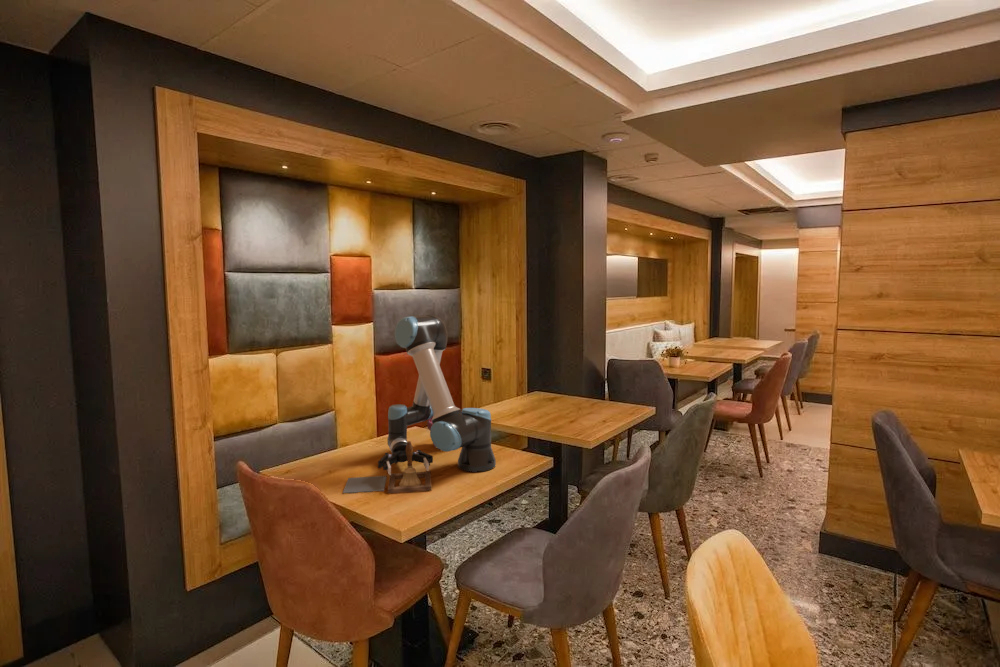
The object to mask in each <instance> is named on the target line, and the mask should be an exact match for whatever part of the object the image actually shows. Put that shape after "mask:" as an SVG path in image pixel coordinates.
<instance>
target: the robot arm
mask: <svg viewBox="0 0 1000 667" xmlns="http://www.w3.org/2000/svg"><path fill="white" fill-rule="evenodd" d="M394 338H395V339H394V340H395V342H396V344H397V345H398V346H400V348H403V349H404V348H405V351H406V354H407V355H408V356H410V357H412V360H413V362H414V364H415V367H416V369H417V372H418V379H417V382H416V387H415V393H414V397H413V402H412V405H411V406H408V407H407V406H406V404H392V405H390V406H389V407H388V411H387V414H388V415H387V419H388V423H387V424H388V431H387V433H388V435H387V436H388V437H387V440H386V441H387V446H388V447H389V450H390V452H391V454H390V453H389V452H384V455H383V456H382V457H381V458H380V459H379V460H378V461H377V468H378V469H381V468H383V471H386V472H387V473H388V475H389V476H390V475H391V474H392V465H394V464H398V463H405V462H408V459H407V455H406V446H407V442H408V437H407V436H408V434H407V433H408V427H409V426H412V425H415V424H418V423H422V422H426V421H428V420H429V419H431V418H432V417H433V418H432V423H433V425H432V426H431V429H430V430H431V432H429V435H430V439H431V442H432V444H433V443H434V445H435V446H436V447H437V448H436V447H435V448H436V449H438V450H441V451H442V452H446V453H448V452H451V451H456V450H458V449H460V448H461V449H460V453H459V455H458V459H457V467H458V468H459V469H460V470H462V471H464V472H469V471H470V472H469V473H478V472H477V471H483V472H486V471H485V470H488V471H490V470H489V469H491V470H493V469H494V468H495V467H496V466H495V465H496V461H497V460H496V457H495V455H494V451H493V448H492V415H491V412H490V411H489V410H488V409H486V408H480V407H479V408H478V407H463V408H462V409H461V408H459V407H457V406H456V405H455V403H454V401H453V400H454V399H453V397H452V395H451V392H450V389H449V387H448V384H447V381H446V379H445V377H444V372H443V370H442V368H441V365H440V364H441V361H442V355H443V351H445V350H446V349H447V344H448V329H447V327H446V323H445V322H444V321H443V320H442V319H441V318H440V317H438V316H436V315H433V314H427V315H409V316H405V317H402V318H400V320H398V321H397V322H396V325H395V329H394ZM430 430H429V431H430ZM434 445H433V446H434ZM433 459H434V456H433V455H431V454H428V453H426V452H424V451H422V450H421V449H417V450H416V451H413V455H412V463H413V462H416V463H417V462H418V463H420V464H421V463H422V464H423V467H424V469H425V470H426V472H430V466H431V464H432V463H433V462H434V460H433ZM493 467H494V468H493ZM492 468H493V469H492ZM471 471H472V472H471Z"/></svg>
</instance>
